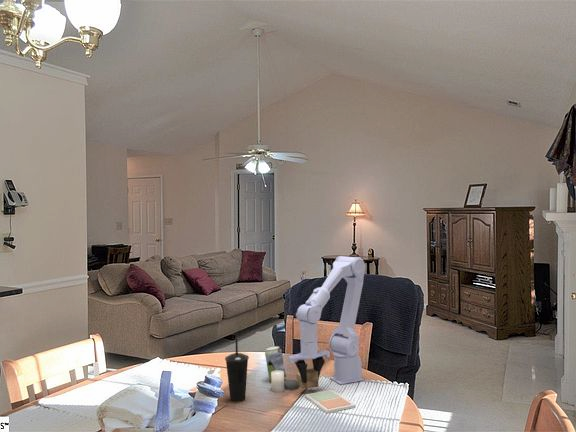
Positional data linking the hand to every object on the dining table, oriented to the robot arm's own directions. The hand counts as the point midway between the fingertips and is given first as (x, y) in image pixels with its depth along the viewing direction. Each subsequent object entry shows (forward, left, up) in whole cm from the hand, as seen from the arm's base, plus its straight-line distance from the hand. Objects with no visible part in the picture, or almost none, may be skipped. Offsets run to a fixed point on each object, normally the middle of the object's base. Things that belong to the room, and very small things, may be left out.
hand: (310, 381), depth 170 cm
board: (-1, +12, -3) cm, 12 cm away
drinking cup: (+24, -4, -4) cm, 25 cm away
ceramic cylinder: (+9, -6, -4) cm, 12 cm away
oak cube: (-1, -6, -4) cm, 7 cm away
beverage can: (+6, -15, -4) cm, 17 cm away
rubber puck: (+4, -6, -4) cm, 9 cm away
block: (0, 0, -2) cm, 2 cm away
